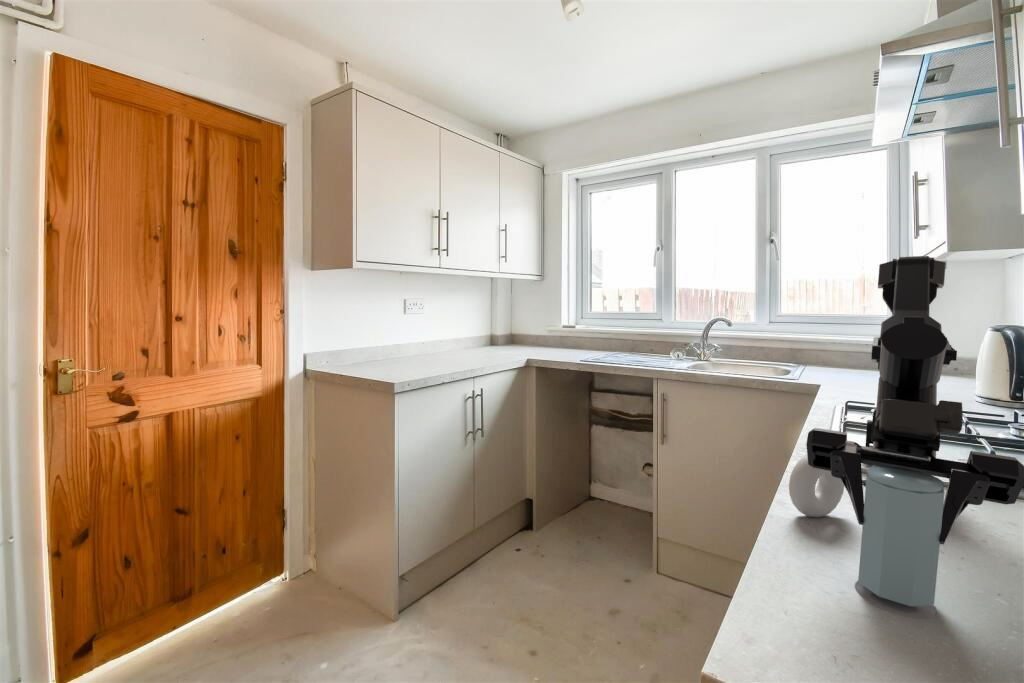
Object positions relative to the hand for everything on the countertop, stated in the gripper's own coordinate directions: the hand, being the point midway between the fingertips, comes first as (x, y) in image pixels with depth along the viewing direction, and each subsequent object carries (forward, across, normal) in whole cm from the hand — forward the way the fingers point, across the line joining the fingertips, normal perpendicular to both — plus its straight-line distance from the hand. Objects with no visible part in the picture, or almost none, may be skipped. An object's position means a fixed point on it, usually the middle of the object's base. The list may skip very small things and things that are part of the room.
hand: (899, 532), depth 51 cm
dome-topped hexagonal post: (+4, 0, +6) cm, 7 cm away
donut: (-8, -9, +20) cm, 24 cm away
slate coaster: (+5, 0, +7) cm, 8 cm away
